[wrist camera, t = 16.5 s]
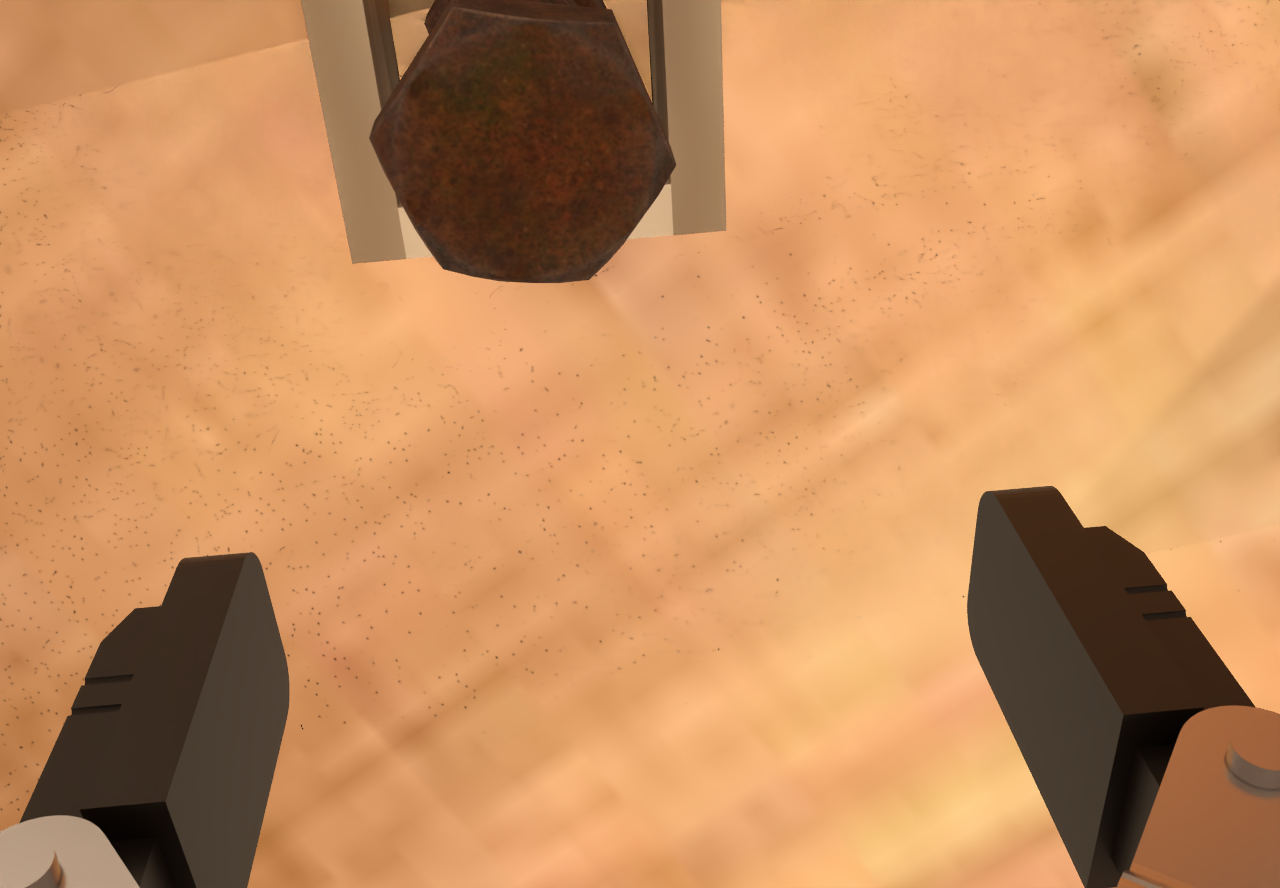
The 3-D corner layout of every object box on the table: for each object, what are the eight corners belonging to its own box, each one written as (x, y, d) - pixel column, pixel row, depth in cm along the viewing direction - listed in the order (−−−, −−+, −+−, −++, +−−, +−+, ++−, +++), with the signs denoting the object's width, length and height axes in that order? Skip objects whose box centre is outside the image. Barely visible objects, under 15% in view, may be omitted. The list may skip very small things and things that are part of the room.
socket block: (689, -243, 33) (715, -235, 29) (703, 172, 39) (726, 230, 35) (295, -215, 32) (261, -202, 28) (370, 200, 38) (352, 263, 34)
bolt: (395, -68, 34) (324, 72, 22) (557, -148, 34) (583, -53, 21) (489, 119, 37) (476, 338, 25) (641, 49, 37) (707, 237, 24)
